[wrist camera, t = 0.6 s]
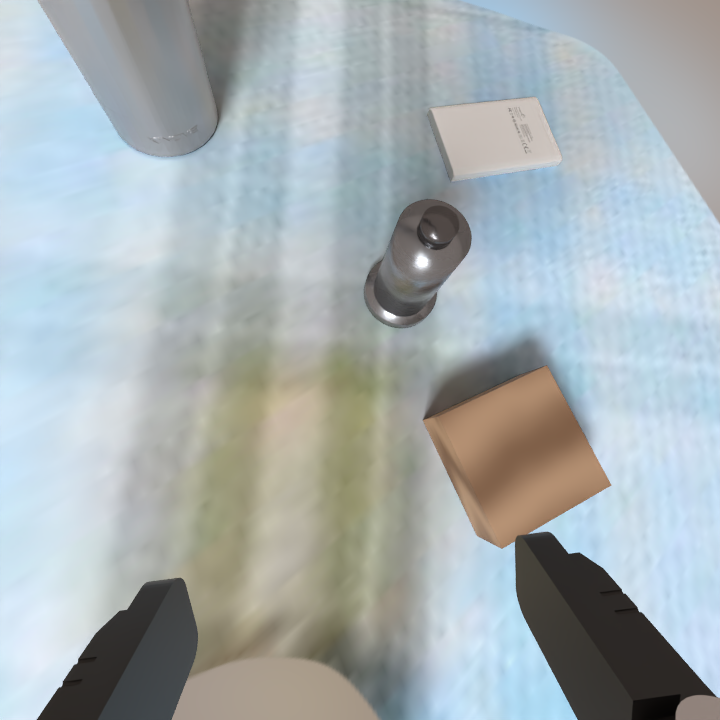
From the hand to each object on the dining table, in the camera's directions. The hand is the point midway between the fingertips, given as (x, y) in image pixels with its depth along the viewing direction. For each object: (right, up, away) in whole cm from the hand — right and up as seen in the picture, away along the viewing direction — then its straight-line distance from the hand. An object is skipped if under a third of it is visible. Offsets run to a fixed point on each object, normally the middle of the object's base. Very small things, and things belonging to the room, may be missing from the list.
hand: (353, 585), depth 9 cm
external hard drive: (+14, +28, +31) cm, 44 cm away
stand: (+12, -2, +23) cm, 26 cm away
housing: (+4, +11, +25) cm, 28 cm away
